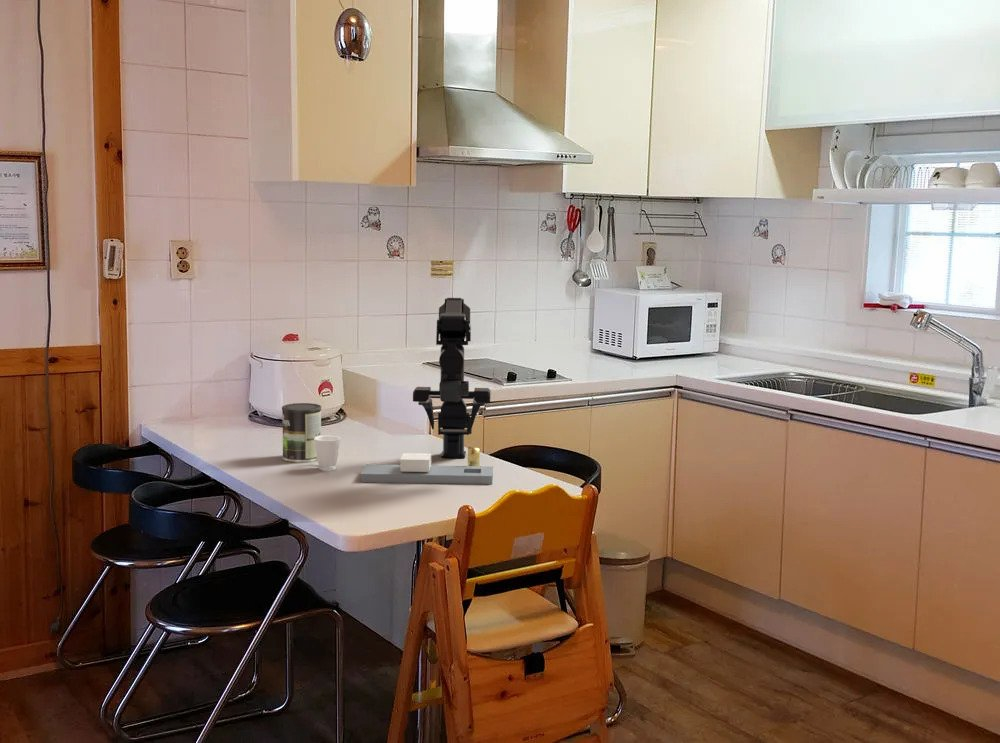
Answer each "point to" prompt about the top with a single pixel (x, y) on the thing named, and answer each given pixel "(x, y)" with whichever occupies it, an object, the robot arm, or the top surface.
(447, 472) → the board
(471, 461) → the pin
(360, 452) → the top surface
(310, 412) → the coffee can
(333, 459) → the cup
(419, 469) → the cover
